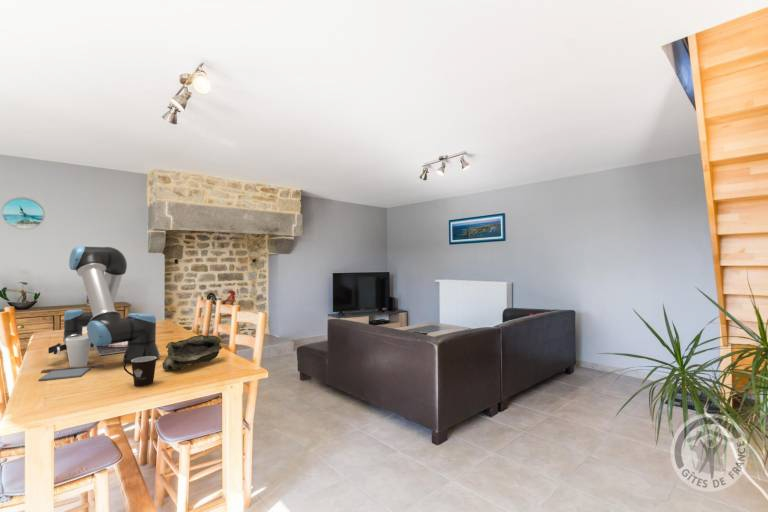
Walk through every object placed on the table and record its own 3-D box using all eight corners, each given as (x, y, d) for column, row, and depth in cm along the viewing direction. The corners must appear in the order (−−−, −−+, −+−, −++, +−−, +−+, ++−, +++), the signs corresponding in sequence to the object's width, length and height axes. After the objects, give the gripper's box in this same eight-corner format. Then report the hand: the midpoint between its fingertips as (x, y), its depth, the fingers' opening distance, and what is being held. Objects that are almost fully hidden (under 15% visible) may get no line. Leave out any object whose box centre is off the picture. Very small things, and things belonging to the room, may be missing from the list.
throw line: (103, 366, 171) (103, 364, 171) (102, 367, 169) (102, 365, 169) (42, 372, 162) (42, 369, 162) (41, 373, 161) (41, 370, 161)
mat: (90, 369, 167) (90, 367, 167) (81, 376, 156) (81, 375, 156) (51, 372, 161) (51, 371, 161) (38, 381, 150) (38, 379, 150)
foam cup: (96, 364, 175) (96, 336, 175) (74, 369, 166) (74, 340, 166) (82, 362, 178) (82, 335, 178) (60, 367, 169) (60, 339, 169)
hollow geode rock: (219, 367, 186) (207, 343, 192) (230, 352, 181) (219, 328, 187) (161, 381, 162) (150, 353, 168) (173, 364, 158) (161, 336, 164)
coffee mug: (161, 382, 149) (161, 357, 150) (139, 388, 142) (139, 363, 142) (143, 378, 154) (143, 354, 154) (121, 384, 147) (121, 359, 147)
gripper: (104, 345, 197) (110, 353, 181) (41, 353, 179) (41, 362, 164) (104, 331, 197) (110, 337, 181) (41, 338, 179) (41, 346, 164)
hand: (77, 349), depth 173 cm, fingers open, 13 cm apart
